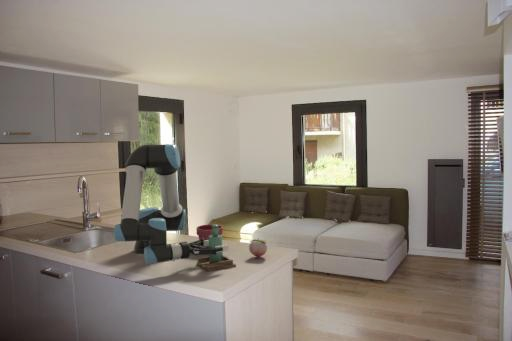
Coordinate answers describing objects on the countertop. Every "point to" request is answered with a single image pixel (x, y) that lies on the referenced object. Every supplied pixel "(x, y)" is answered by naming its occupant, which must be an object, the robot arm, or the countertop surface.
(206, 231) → the plant pot
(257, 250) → the decorative fruit
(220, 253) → the green bottle
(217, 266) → the u rest
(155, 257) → the robot arm
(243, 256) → the countertop surface
